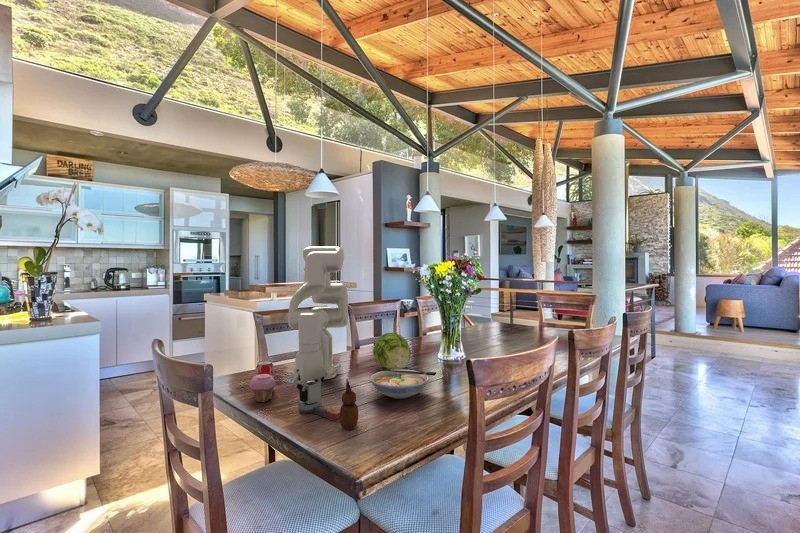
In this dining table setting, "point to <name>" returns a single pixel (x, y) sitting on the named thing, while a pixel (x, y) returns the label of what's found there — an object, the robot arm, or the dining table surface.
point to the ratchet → (319, 410)
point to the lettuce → (392, 351)
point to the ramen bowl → (400, 382)
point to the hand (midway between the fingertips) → (310, 398)
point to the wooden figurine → (348, 409)
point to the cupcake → (262, 387)
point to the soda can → (265, 368)
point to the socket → (313, 391)
